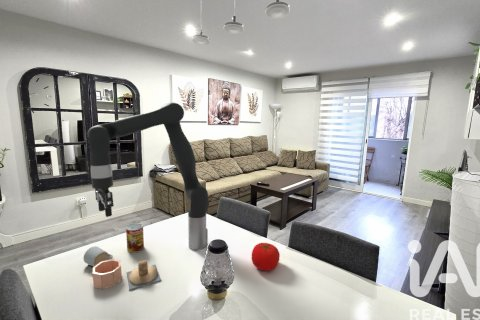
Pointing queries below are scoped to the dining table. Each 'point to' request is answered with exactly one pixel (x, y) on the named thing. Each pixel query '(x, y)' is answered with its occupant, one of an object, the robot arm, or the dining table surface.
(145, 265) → the lid
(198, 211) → the robot arm
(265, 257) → the tomato
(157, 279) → the mat
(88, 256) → the ceramic mug
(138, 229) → the canned food
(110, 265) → the bowl
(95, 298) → the dining table surface
